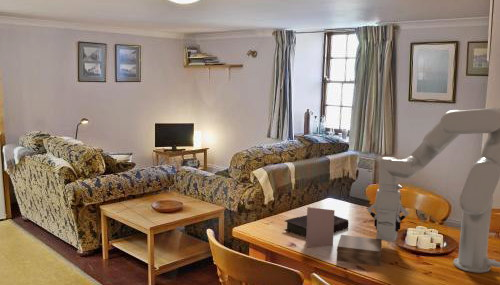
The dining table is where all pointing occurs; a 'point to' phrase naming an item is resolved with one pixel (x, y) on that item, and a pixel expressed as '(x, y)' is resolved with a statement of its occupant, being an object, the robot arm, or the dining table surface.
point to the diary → (300, 225)
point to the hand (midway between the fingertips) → (387, 229)
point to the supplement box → (386, 225)
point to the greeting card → (319, 227)
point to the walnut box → (359, 250)
